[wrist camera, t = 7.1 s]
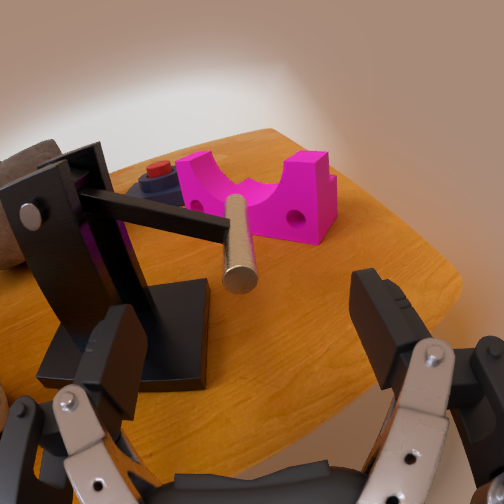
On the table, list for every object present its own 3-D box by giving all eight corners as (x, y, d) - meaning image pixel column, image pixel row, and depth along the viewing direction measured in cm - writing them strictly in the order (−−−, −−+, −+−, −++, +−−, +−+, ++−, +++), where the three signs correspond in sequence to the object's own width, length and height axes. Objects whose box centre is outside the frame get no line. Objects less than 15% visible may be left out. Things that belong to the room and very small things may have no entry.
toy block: (337, 215, 30) (335, 145, 26) (318, 245, 26) (314, 162, 22) (221, 202, 38) (210, 145, 34) (189, 224, 33) (174, 161, 29)
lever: (241, 223, 19) (252, 189, 18) (248, 306, 13) (267, 260, 11) (69, 185, 17) (72, 150, 16) (0, 244, 10) (-5, 197, 9)
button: (174, 169, 42) (171, 158, 41) (170, 176, 39) (167, 164, 38) (152, 174, 42) (149, 163, 41) (146, 181, 39) (143, 170, 38)
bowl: (-7, 316, 22) (-65, 194, 15) (-29, 277, 32) (-63, 197, 24) (111, 225, 37) (80, 120, 29) (54, 217, 46) (30, 143, 39)
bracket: (210, 290, 23) (169, 119, 16) (205, 390, 15) (116, 150, 8) (81, 305, 23) (22, 169, 16) (44, 387, 15) (-59, 225, 8)
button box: (207, 181, 46) (202, 157, 44) (202, 201, 39) (196, 173, 37) (138, 195, 47) (131, 173, 45) (121, 217, 39) (113, 191, 37)
